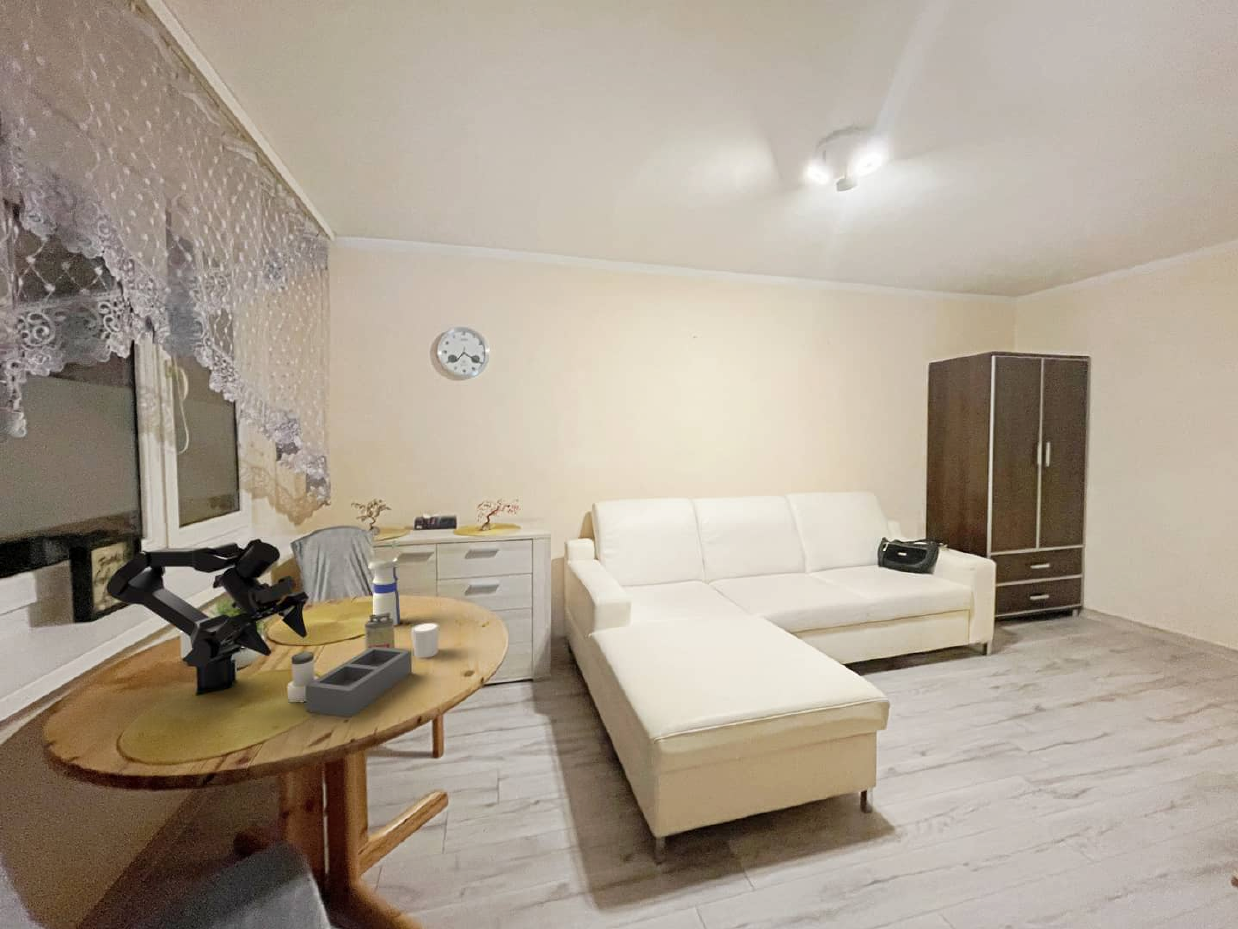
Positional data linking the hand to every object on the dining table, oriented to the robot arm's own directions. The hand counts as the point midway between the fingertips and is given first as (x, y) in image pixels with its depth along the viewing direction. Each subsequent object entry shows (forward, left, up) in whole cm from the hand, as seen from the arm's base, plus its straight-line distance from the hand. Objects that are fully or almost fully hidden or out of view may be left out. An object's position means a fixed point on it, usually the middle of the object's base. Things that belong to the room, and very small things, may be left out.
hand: (288, 645), depth 110 cm
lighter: (+20, +13, -11) cm, 26 cm away
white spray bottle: (+24, +34, -11) cm, 43 cm away
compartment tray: (+14, -8, -11) cm, 19 cm away
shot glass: (+30, +5, -11) cm, 32 cm away
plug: (+3, -3, -11) cm, 12 cm away
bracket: (-18, +38, -11) cm, 44 cm away
